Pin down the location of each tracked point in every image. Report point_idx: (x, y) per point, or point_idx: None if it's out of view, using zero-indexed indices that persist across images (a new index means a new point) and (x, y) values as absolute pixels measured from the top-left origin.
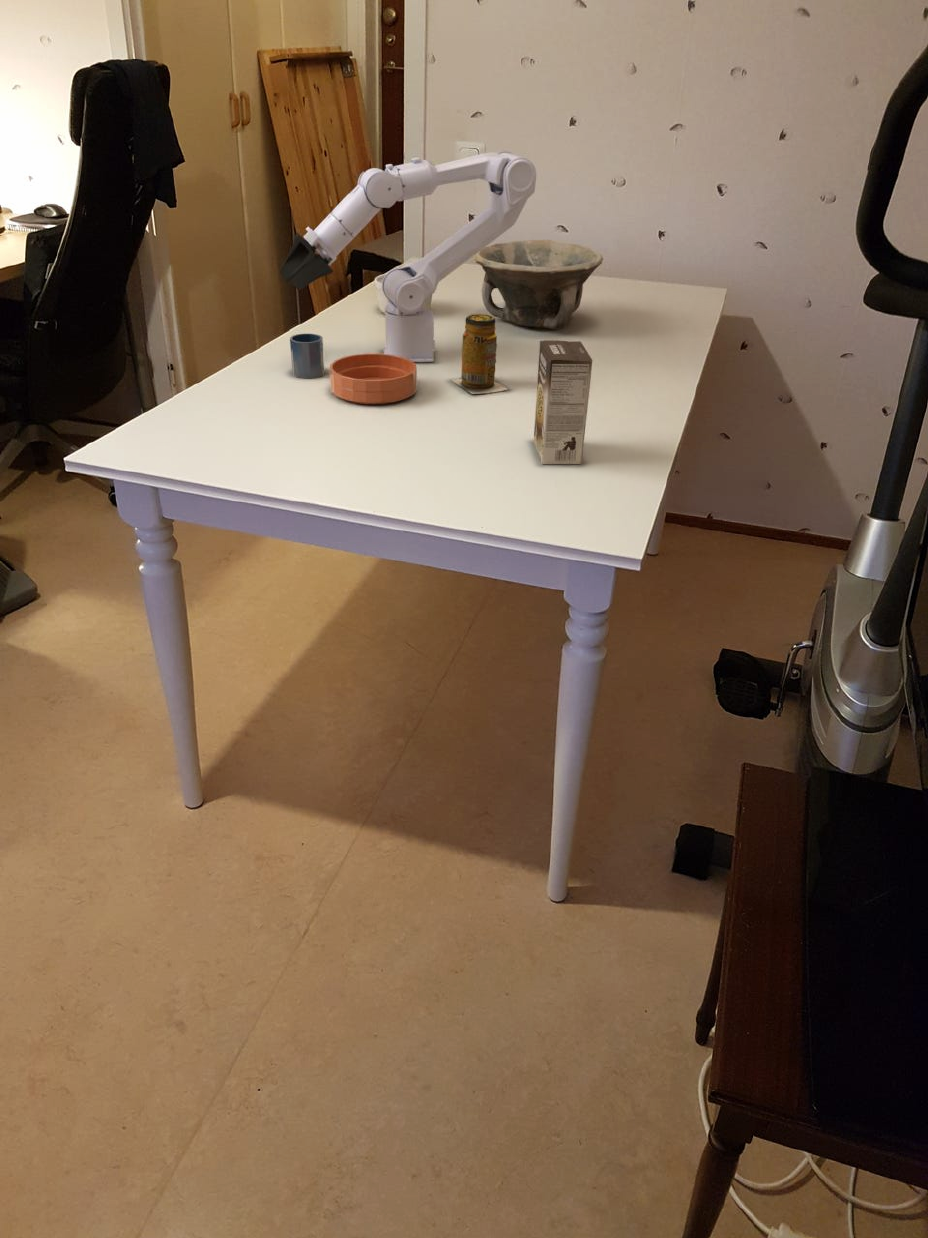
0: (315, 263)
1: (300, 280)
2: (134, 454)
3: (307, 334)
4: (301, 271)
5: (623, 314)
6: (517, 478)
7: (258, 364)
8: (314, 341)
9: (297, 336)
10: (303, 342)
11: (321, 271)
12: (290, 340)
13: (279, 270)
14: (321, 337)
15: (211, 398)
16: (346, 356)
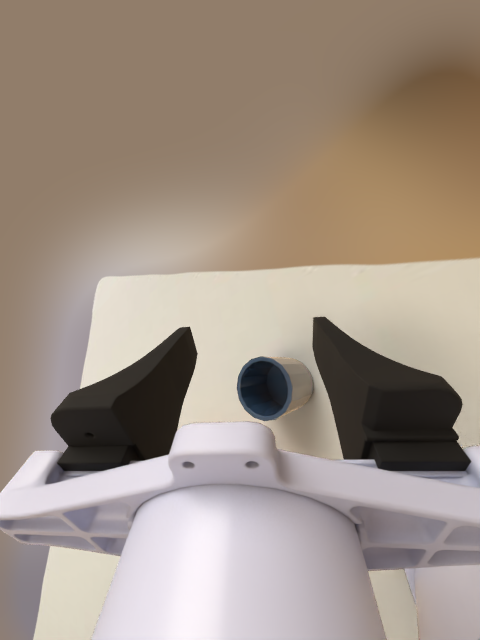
0: (347, 418)
1: (319, 352)
2: (105, 308)
3: (287, 383)
4: (329, 351)
5: None
6: (86, 633)
7: (307, 291)
8: (247, 408)
9: (276, 365)
10: (238, 389)
11: (341, 442)
12: (249, 361)
13: (178, 329)
14: (273, 417)
15: (188, 301)
16: None
